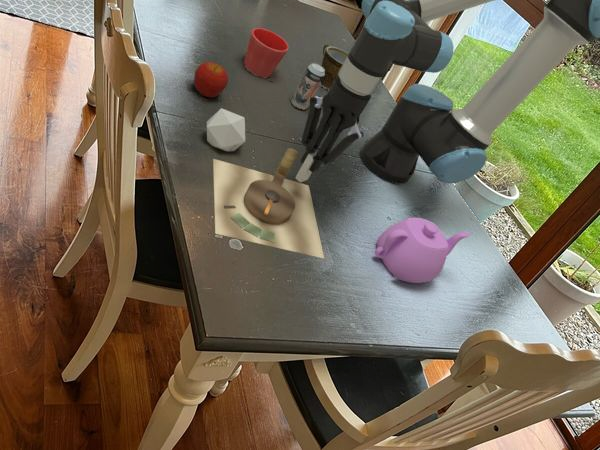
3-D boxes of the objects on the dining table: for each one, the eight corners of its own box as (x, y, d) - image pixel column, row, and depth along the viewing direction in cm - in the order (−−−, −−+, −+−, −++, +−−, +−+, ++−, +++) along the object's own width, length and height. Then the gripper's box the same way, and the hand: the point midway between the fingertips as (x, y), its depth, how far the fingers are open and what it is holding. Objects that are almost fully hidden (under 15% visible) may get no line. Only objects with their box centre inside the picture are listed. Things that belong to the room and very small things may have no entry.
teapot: (381, 288, 115) (412, 248, 108) (356, 238, 123) (384, 199, 116) (453, 290, 125) (486, 254, 118) (426, 245, 133) (456, 208, 126)
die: (220, 166, 121) (258, 138, 120) (193, 133, 118) (232, 103, 117) (219, 156, 129) (255, 129, 128) (194, 124, 126) (230, 97, 125)
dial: (284, 234, 111) (299, 208, 107) (236, 211, 110) (250, 183, 105) (300, 185, 125) (314, 160, 121) (259, 164, 124) (272, 138, 120)
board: (306, 189, 128) (309, 185, 127) (321, 262, 112) (324, 257, 111) (211, 163, 120) (213, 158, 119) (213, 237, 104) (215, 232, 103)
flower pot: (282, 77, 162) (296, 47, 157) (260, 84, 154) (274, 53, 148) (254, 56, 164) (267, 25, 159) (231, 62, 156) (244, 30, 150)
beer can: (287, 103, 153) (307, 64, 146) (294, 98, 157) (313, 60, 150) (302, 113, 153) (323, 74, 146) (309, 107, 157) (328, 70, 149)
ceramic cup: (347, 96, 172) (363, 67, 167) (322, 94, 166) (338, 65, 160) (324, 70, 179) (339, 42, 173) (300, 68, 172) (314, 38, 166)
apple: (217, 87, 143) (228, 60, 138) (223, 106, 138) (235, 78, 133) (187, 80, 139) (197, 52, 135) (192, 99, 134) (203, 70, 130)
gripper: (390, 103, 108) (333, 194, 122) (340, 62, 112) (290, 155, 126) (370, 109, 102) (312, 203, 116) (318, 65, 106) (269, 162, 120)
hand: (301, 178), depth 121 cm, fingers closed
